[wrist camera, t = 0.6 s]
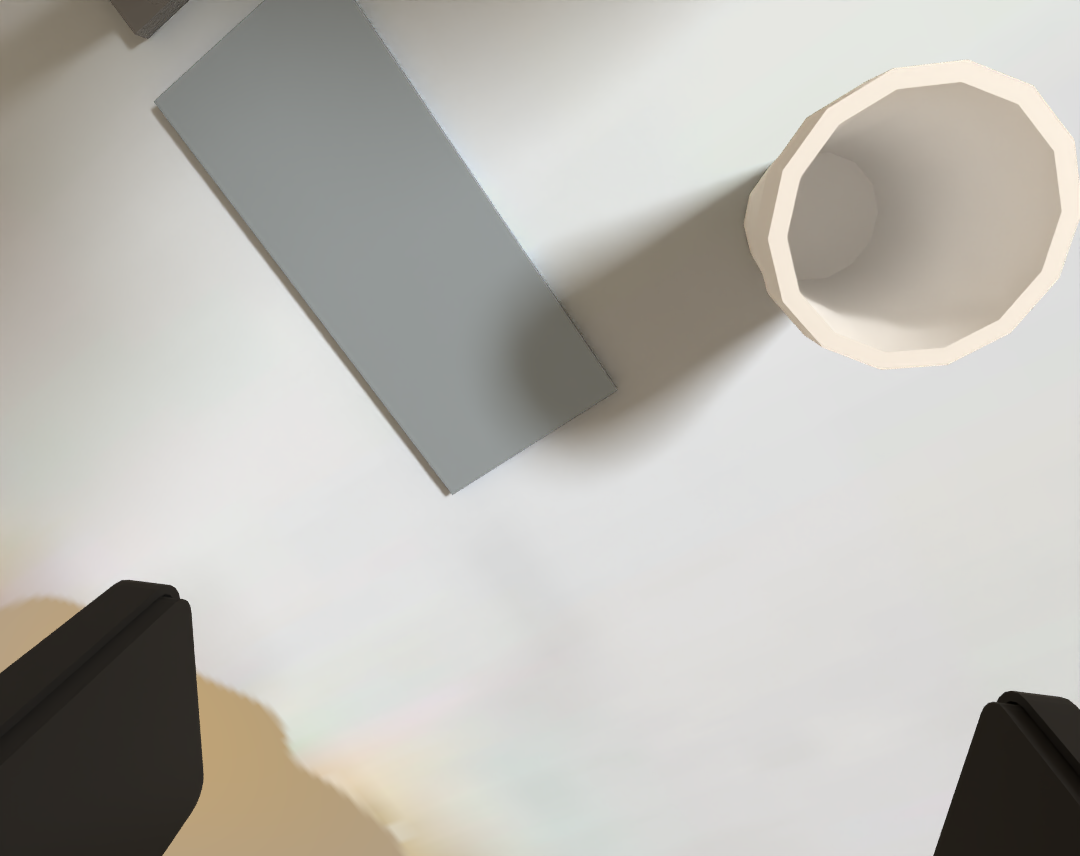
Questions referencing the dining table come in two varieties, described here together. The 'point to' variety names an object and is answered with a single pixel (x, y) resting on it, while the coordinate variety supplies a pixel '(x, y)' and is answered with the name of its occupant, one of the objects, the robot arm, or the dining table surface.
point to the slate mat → (385, 233)
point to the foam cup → (917, 214)
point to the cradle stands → (147, 13)
